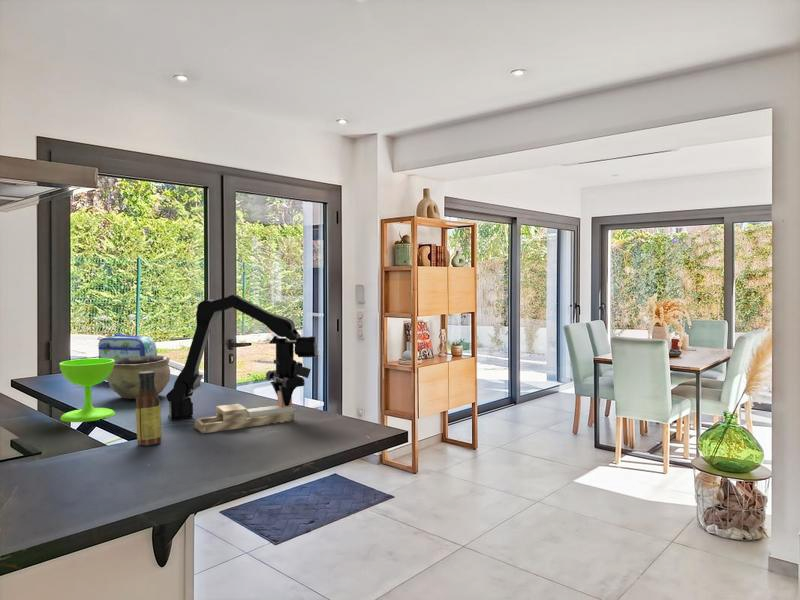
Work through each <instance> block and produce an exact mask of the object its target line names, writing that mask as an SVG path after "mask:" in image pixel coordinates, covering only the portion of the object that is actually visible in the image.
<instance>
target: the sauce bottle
mask: <svg viewBox="0 0 800 600" xmlns="http://www.w3.org/2000/svg"><path fill="white" fill-rule="evenodd" d="M154 377H155V372H154V371H144V372H139V379H140V386H139V387H140V390H139V392H138V394H137V396H136V399H135V419H136V440H137V445H139V446H142V447H148V446H149V447H150V446H155V445H158V444H160V443H161V442H162V434H163V432H162V416H161V415H162V413H161V412H162V411H161V399H160V396H159V394H157V391H156V388H155V385H154Z"/></svg>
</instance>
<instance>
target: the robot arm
mask: <svg viewBox="0 0 800 600" xmlns="http://www.w3.org/2000/svg"><path fill="white" fill-rule="evenodd" d="M229 309H236V310H237V311H238V312H241V313H243V314H244V315H246V316H249V317H251V319H254V320H256V321H258V322H260V323H261V324H263V325H265V326H266V327H267V328H268V329H269V330H270V331H271V332H273V333H274V334H275V335H274V336H273V337H272V339H271V340H269V342H268V343H269V344H271V345H272V344H275V359H273V363H274V364H275V369H274V370H273V369H272V370H268V371H267V372H266V373H265V379H266V380H267V381H270V385H271V386H272V388H273V390H274V392H275V394H276V397H278V390H280V391H281V394H282V398H283V401H284V404H285V406H289V403H290V400H291V396H292V397H293V393H294V390H296V389H297V388H298V387H305V379H309V376H310V373H311V368H308V367H305V366H303V363H302V362H298V361H297V360H296V359H294V358H295V356H294V355H296V356H297V357H298V358H317V355H318V345H317V339H316V338H317V337H316V336H313V335H312V336H302V335H300V334H301V333H299V331H298V330H297V329H296V325H295V322H294V320H292V319H290V318H288V317H285V316H282V315H279V314H275V313H271V312H269V311H267V310H265V309H264V308H261V307H260V306H258V305H256V304H254V303H252V302H251V301H248V300H247V299H244V298H243V297H241V295H239V294H231V295H229V296H226V297H222V298H219V299H207V300H206V299H205V300H202V301H201V302H199V303H198V305H197V307H196V315H195V316H196V317H195V320H196V321H195V322H196V327H195V331H194V334H193V337H192V340H191V344H190V348H189V349H188V350H189V351H188V353H187V354H188V355H187V358H186V359H185V360H186V361H185V365H184V367H183V368H182V370H181V371H180V373H179V374H178V376H177V378H176V379H175V382H174V383H173V388H171V389H170V391H169V392H168V393H167V394H166V395H165V396H166V399H167V402H168V403H169V404H168V405H169V407H168V409H169V410H168V411H169V413H168V414H167V417H168V418H169V419H170V420H171V421H176V420H178V419H179V420H185V419H186V418H187V419H193V418H194V417H193V415H194V403H193V402H192V398H191V397H192V396H193V394H194V392H195V391H197V389H198V388H200V387H201V381H202V379H203V377H204V375H203V374H201V373H200V372H199V371H200V370H199V368H200V365H201V362H202V358H203V357H204V356H203V355H204V351H205V349H206V345H207V343H208V342H207V341H208V338H209V336H210V333H211V332H210V331H211V329H212V327H213V325H214V324H215V323H216V321H217V320H218V317H219V316H220V314H221V312H223V311H226V310H229ZM304 378H305V379H304ZM271 380H272V381H271Z"/></svg>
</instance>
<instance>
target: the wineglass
mask: <svg viewBox="0 0 800 600" xmlns="http://www.w3.org/2000/svg"><path fill="white" fill-rule="evenodd" d="M114 363H115V360H114V359H104V358H99V357H98V358H80V359H70V360H65V361H61V362H59V363H58V365H59V369H60V373H61V374H62V376H63V377H64V378H65V379H66V380H67V381H68V382H70V383H71V384H73V385H76V386H78V387H79V386H80V387H84V406H83V407H82V408H80V409H75V410H71V411H68V412H65V413H63V414H62V415H61V416H60V421H62V422H64V423H65V422H67V423H87V422H94V421H100V419H102V418H106V417H110V416H112V417H114V416H115V415H116V411H114V410H113V409H112V408H109V407H108V408H107V407H94V406H93V405H92V387H93V386H96V385H99V384H101V383H103V381H104V380H105V379H106V378H107V377H108V376H109V375H110V374H111V372H112V370H113V368H114ZM114 414H115V415H114ZM113 415H114V416H113ZM110 418H111V417H110ZM106 419H107V418H106ZM102 420H103V419H102Z"/></svg>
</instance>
